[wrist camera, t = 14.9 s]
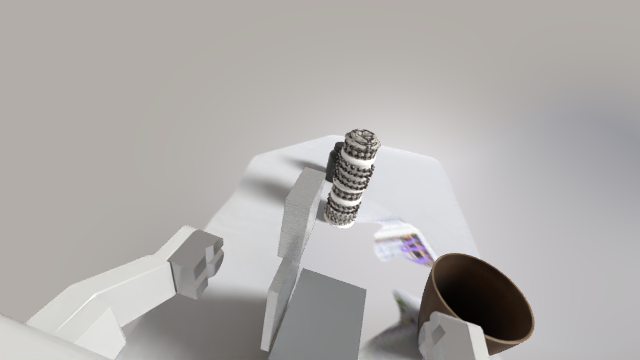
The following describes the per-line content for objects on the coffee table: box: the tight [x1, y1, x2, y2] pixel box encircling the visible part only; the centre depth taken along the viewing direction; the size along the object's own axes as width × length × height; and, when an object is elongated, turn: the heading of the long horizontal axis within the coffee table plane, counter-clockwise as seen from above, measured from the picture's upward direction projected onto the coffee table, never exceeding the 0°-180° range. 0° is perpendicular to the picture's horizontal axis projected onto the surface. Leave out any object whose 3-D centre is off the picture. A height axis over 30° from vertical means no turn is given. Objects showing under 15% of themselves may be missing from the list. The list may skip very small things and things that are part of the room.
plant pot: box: [418, 253, 534, 356], centre depth 46 cm, size 15×15×16 cm
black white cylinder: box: [324, 129, 381, 228], centre depth 67 cm, size 9×9×25 cm
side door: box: [261, 167, 326, 352], centre depth 31 cm, size 10×2×20 cm, turn 165°
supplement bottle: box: [325, 142, 344, 183], centre depth 86 cm, size 7×7×12 cm
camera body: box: [268, 268, 366, 360], centre depth 40 cm, size 16×10×14 cm, turn 165°
